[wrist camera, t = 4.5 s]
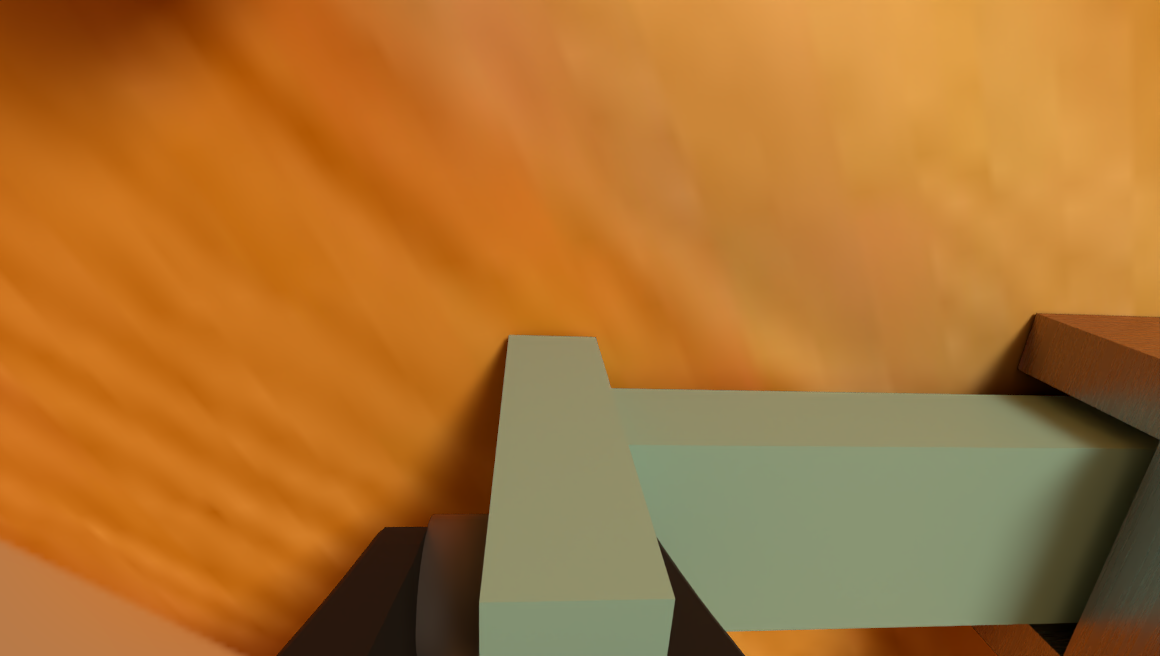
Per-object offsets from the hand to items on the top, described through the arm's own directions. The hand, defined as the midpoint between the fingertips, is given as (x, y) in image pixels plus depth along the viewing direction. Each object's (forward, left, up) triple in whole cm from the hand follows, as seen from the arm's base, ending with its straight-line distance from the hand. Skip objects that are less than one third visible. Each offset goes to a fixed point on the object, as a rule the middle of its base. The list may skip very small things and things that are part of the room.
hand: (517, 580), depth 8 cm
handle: (-5, 0, -3) cm, 6 cm away
